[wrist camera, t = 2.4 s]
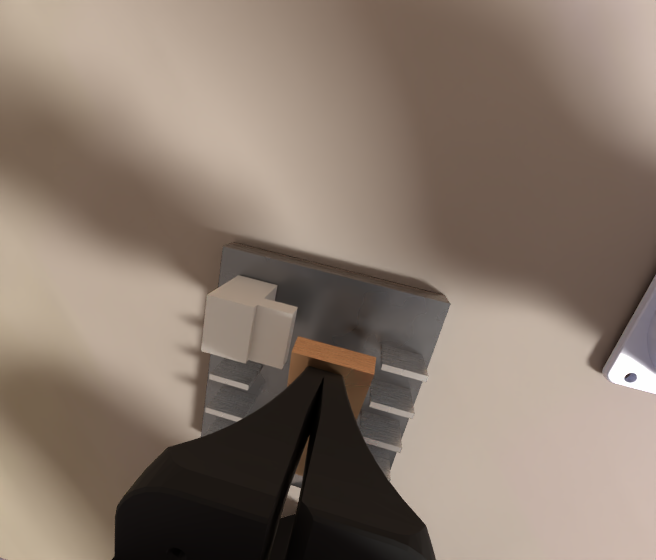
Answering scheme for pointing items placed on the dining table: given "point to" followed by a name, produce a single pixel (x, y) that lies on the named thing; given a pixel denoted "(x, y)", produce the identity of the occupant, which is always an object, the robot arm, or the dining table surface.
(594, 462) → the dining table surface
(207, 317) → the white stepped block
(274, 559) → the electrical component
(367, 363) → the brown flat bar
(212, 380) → the heatsink
